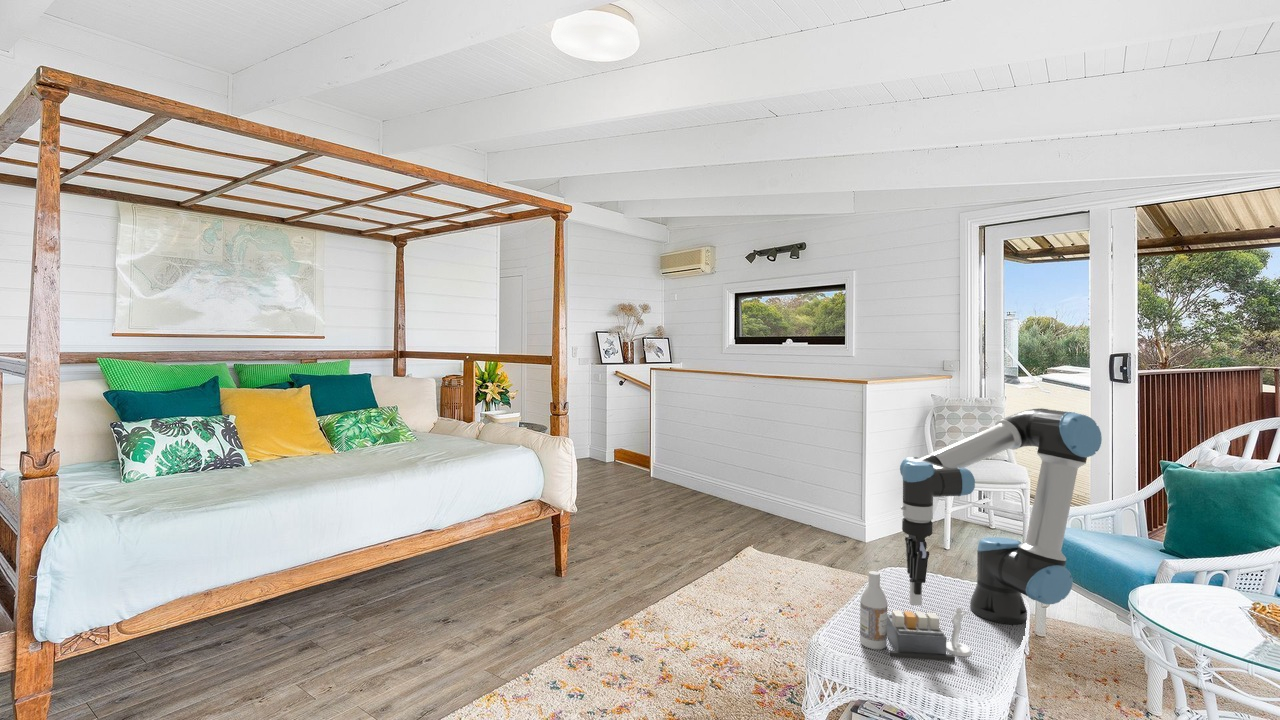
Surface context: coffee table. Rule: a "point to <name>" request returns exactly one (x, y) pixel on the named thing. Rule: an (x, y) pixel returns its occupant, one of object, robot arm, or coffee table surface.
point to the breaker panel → (916, 639)
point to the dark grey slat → (922, 656)
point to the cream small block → (898, 618)
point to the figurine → (954, 645)
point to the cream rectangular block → (932, 620)
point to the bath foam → (873, 614)
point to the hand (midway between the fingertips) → (915, 604)
